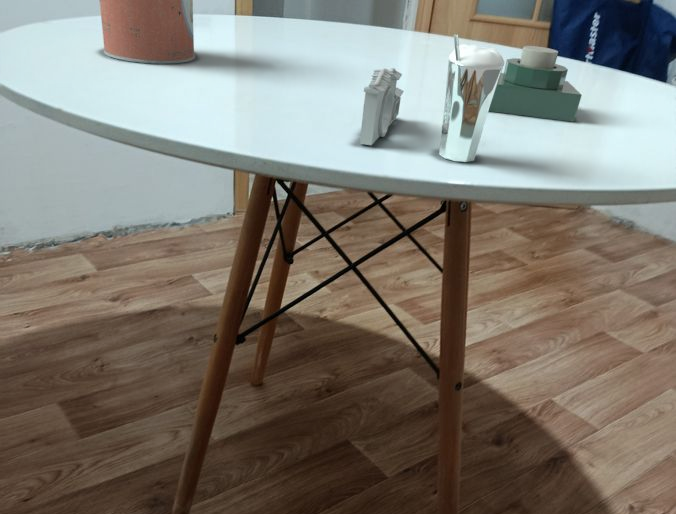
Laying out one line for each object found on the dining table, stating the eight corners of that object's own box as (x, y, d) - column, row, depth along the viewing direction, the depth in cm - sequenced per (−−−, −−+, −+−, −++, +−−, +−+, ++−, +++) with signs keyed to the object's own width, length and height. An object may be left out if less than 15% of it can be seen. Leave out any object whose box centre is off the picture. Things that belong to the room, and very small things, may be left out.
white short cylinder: (550, 67, 76) (555, 48, 75) (556, 73, 73) (561, 53, 72) (516, 63, 76) (521, 44, 75) (521, 68, 73) (526, 49, 72)
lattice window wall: (383, 116, 67) (391, 55, 64) (400, 119, 67) (409, 58, 63) (355, 145, 57) (363, 75, 54) (374, 148, 57) (384, 78, 53)
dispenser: (560, 106, 80) (572, 63, 77) (573, 121, 74) (587, 76, 71) (482, 96, 81) (491, 53, 78) (487, 111, 74) (498, 64, 71)
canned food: (193, 66, 78) (190, -48, 72) (97, 59, 76) (85, -59, 70) (196, 50, 87) (193, -53, 81) (110, 43, 85) (100, -62, 79)
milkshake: (415, 152, 57) (435, 29, 51) (455, 146, 60) (479, 29, 54) (451, 168, 54) (477, 39, 49) (492, 161, 57) (521, 39, 51)
